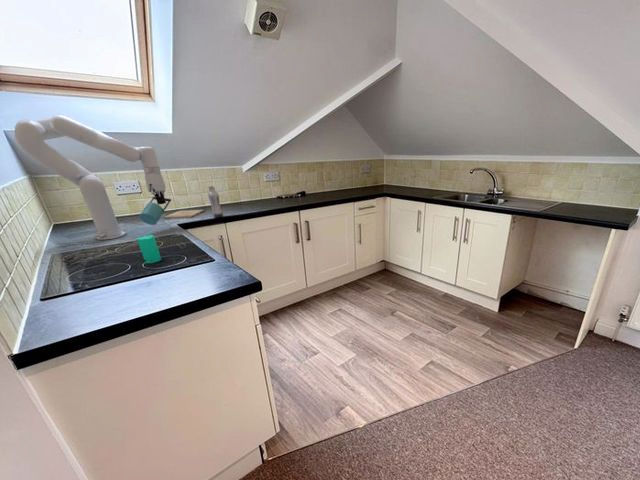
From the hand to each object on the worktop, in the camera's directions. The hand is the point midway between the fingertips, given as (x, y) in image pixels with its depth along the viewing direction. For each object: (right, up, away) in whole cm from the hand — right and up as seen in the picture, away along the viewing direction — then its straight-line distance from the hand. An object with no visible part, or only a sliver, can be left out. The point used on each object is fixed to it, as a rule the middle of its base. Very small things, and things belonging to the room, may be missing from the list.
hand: (161, 203), depth 174 cm
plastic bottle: (+19, -3, +28) cm, 34 cm away
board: (-9, +1, +38) cm, 39 cm away
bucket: (0, -7, -2) cm, 7 cm away
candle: (+28, -36, -46) cm, 65 cm away
